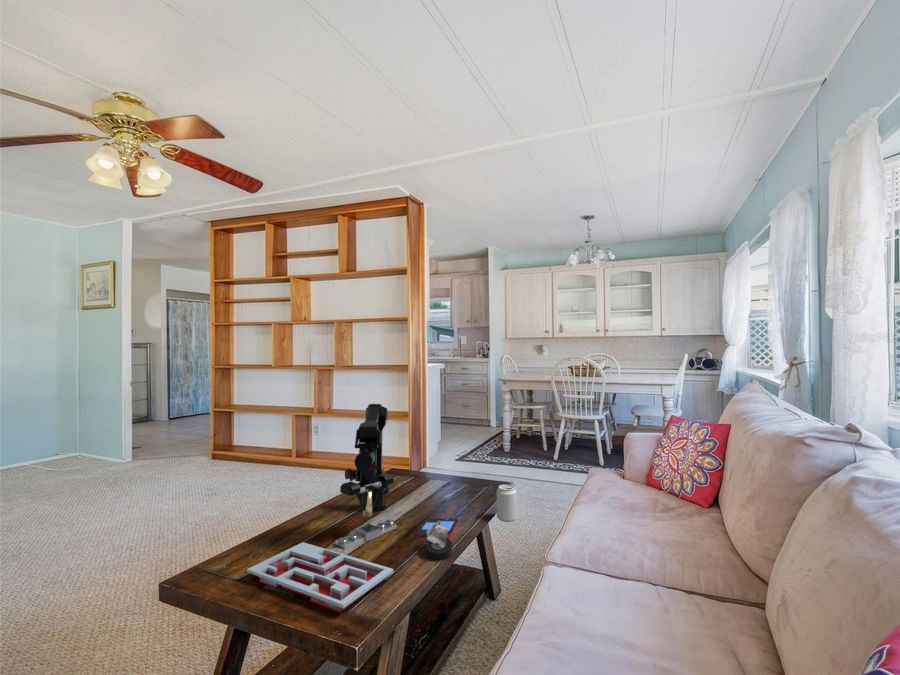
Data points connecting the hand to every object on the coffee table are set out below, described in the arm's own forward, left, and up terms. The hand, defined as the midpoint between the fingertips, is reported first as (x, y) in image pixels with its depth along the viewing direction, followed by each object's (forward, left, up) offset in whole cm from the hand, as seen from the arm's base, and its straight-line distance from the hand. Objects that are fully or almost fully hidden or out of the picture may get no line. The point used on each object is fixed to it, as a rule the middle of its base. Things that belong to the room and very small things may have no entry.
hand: (367, 509), depth 150 cm
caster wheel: (-7, +27, -9) cm, 29 cm away
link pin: (0, 0, -2) cm, 2 cm away
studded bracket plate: (0, 0, -9) cm, 9 cm away
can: (-44, +27, -9) cm, 52 cm away
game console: (-20, +14, -10) cm, 26 cm away
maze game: (+27, +13, -10) cm, 31 cm away
